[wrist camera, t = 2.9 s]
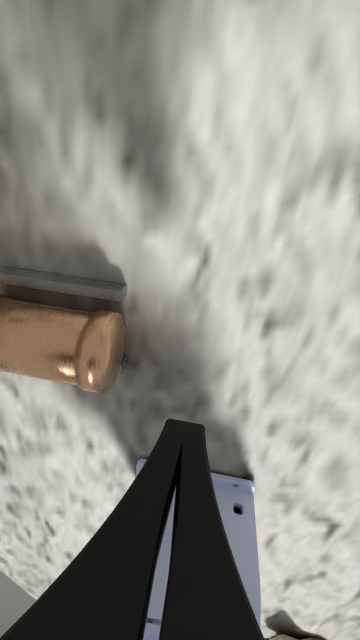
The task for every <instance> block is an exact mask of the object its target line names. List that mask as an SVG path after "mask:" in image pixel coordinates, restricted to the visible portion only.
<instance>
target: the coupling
mask: <svg viewBox="0 0 360 640" xmlns="http://www.w3.org/2000/svg"><path fill="white" fill-rule="evenodd" d="M124 347H125V324H124V320H123V317H122V315H121V314H120V313H116V312H110V311H103V310H98V311H96V312H94V313H92V312H86V311H80V310H74V309H67V308H61V307H55V306H49V305H42V304H36V303H30V302H23V301H17V300H13V299H12V298H10V297H8V296H6V295H2V294H0V371H2V372H8V373H13V374H19V375H24V376H30V377H35V378H41V379H46V380H51V381H57V382H62V383H68V384H73V385H78V387H79V388H80V389H81V390H84V391H90V392H95V393H100V394H104V393H106V392H107V391H108V390H109V389H110V387H111V386H112V384H113V383H114V381H115V379H116V377H117V374H118V372H119V369H120V366H121V362H122V358H123V353H124Z"/></svg>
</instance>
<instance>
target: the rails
mask: <svg viewBox="0 0 360 640" xmlns="http://www.w3.org/2000/svg"><path fill="white" fill-rule="evenodd" d="M0 283H2V284H9V285H15V286H22V287H28V288H35V289H41V290H48V291H54V292H61V293H67V294H74V295H80V296H86V297H93V298H99V299H106V300H112V301H119V302H121V301H122V299H123V298H124V297H125V295H126V284H119V283H113V282H106V281H99V280H92V279H86V278H79V277H72V276H66V275H59V274H52V273H45V272H39V271H32V270H25V269H19V268H12V267H5V266H0ZM125 366H126V356H123V358H122V362H121V366H120V369H119V372H118V373H122V371H123V370H124V368H125Z"/></svg>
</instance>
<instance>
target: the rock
mask: <svg viewBox="0 0 360 640" xmlns="http://www.w3.org/2000/svg"><path fill="white" fill-rule="evenodd" d="M264 640H298V639H295V638H292V637H290V636H287V635H285V634H279V635H277V636H276V637H274V638H271V639H264ZM301 640H321V639H318V638H313V637H310V638H307V639H301Z"/></svg>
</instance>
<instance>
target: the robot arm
mask: <svg viewBox="0 0 360 640" xmlns="http://www.w3.org/2000/svg"><path fill="white" fill-rule="evenodd" d="M254 491H255V483H254V482H252V481H250V480H246V479H241V478H236V477H231V476H226V475H221V474H216V473H211V472H210V468H209V462H208V456H207V449H206V440H205V427H204V426H203V425H201V424H196V423H190V422H185V421H180V420H174V419H168V420H166V423H165V426H164V428H163V430H162V433H161V435H160V437H159V439H158V441H157V443H156V445H155V447H154V448H153V450H152V452H151V454H150V456H149V457H148V459H139V460H138V461H137V465H136V478H135V480H134V481H133V483H132V484H131V486H130V487H129V489H128V490H127V492H126V493H125V495H124V496H123V498H122V499H121V501H120V502H119V503H118V505H117V506H116V507H115V509H114V510H113V512H112V513H111V514H110V516H109V517H108V518H107V519H106V521H105V522H104V523H103V525H102V526H101V527H100V528H99V530H98V531H97V532H96V533H95V535H94V536H93V537H92V538H91V540H90V541H89V542H88V543H87V544H86V546H85V547H84V548H83V549H82V551H81V552H80V553H79V554H78V555H77V556H76V558H75V559H74V560H73V561H72V562H71V563H70V565H69V566H68V567H67V568H66V569H65V570H64V571H63V572H62V573H61V575H60V576H59V577H58V578H57V579H56V580H55V581H54V582H53V583H52V584H51V586H50V587H49V588H48V589H47V590H46V591H45V592H44V593H43V594H42V595H41V597H40V598H39V599H38V600H37V601H36V602H35V603H34V604H33V605H32V606H31V607H30V608H29V609H28V610H27V612H25V614H23V615H22V617H21V618H19V619H18V621H17V622H16V623H15V624H14V625H13V626H12V627H11V628H10V629H9V630H8V631H7V632H6V633H5V634H4V635H3V636H2V637H1V638H0V640H264V637H263V635H262V632H261V630H260V614H261V596H260V576H259V563H258V550H257V536H256V523H255V510H254V496H253V493H254Z"/></svg>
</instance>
